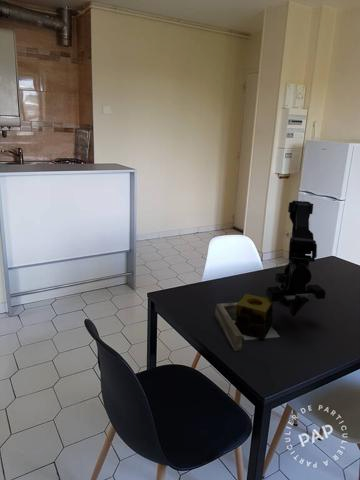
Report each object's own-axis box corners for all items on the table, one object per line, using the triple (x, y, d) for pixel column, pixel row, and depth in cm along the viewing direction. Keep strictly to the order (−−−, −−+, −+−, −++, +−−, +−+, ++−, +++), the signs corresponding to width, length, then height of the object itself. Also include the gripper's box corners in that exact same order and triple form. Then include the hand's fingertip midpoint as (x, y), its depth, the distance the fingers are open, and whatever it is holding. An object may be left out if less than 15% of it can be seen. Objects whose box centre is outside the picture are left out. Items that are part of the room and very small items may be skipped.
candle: (263, 341, 117) (266, 312, 114) (233, 332, 121) (235, 304, 118) (272, 326, 125) (275, 299, 122) (243, 318, 130) (246, 292, 127)
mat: (264, 318, 131) (264, 318, 131) (279, 337, 119) (280, 336, 119) (232, 321, 128) (232, 320, 128) (244, 340, 117) (244, 339, 117)
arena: (268, 312, 135) (269, 300, 134) (296, 345, 115) (298, 330, 114) (215, 316, 131) (215, 303, 130) (234, 350, 112) (236, 336, 110)
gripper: (312, 263, 130) (306, 303, 135) (261, 265, 127) (257, 306, 131) (329, 275, 119) (322, 318, 124) (275, 277, 116) (270, 322, 121)
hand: (292, 315), depth 125 cm, fingers closed
